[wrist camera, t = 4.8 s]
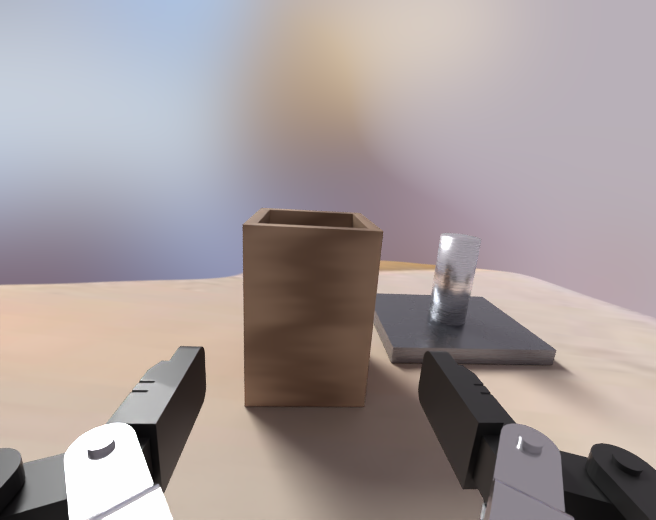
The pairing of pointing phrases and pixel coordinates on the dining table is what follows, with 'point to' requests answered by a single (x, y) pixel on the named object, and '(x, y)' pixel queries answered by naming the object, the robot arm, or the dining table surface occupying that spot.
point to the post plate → (453, 339)
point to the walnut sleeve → (308, 306)
